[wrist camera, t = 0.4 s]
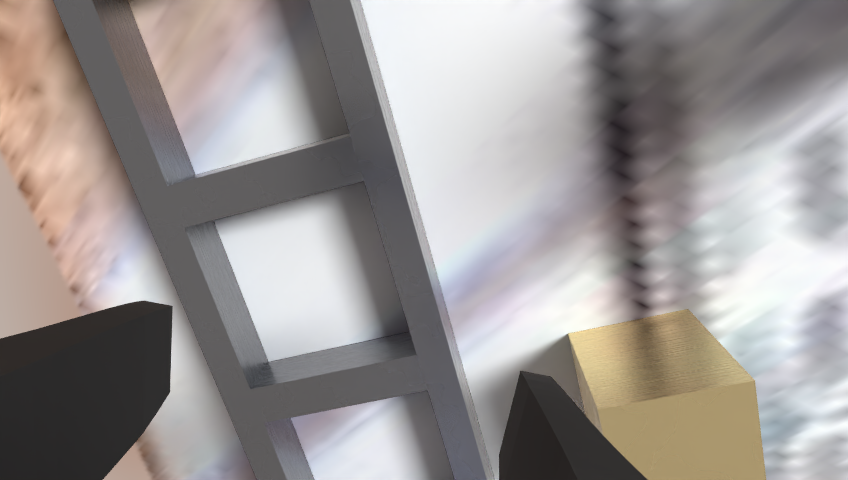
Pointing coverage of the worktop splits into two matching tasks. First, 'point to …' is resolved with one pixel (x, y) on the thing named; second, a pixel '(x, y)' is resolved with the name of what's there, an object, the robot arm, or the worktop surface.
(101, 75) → the grey compartment tray
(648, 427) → the tan rectangular block
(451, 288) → the worktop surface
